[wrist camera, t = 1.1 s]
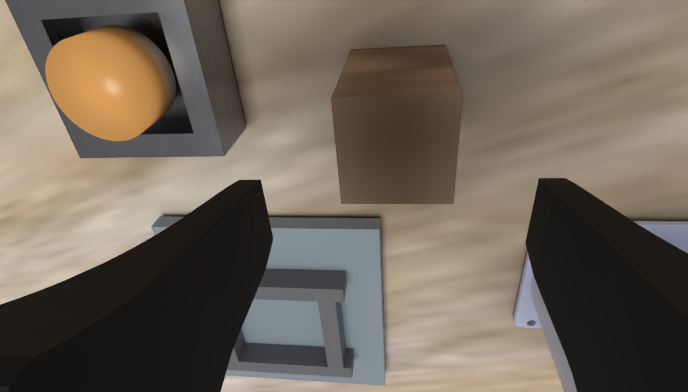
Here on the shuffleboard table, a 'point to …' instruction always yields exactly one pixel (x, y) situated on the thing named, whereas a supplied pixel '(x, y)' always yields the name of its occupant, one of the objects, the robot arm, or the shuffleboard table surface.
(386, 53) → the block
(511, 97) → the shuffleboard table surface
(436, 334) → the shuffleboard table surface
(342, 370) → the board
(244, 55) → the shuffleboard table surface
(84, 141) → the control box
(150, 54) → the button
